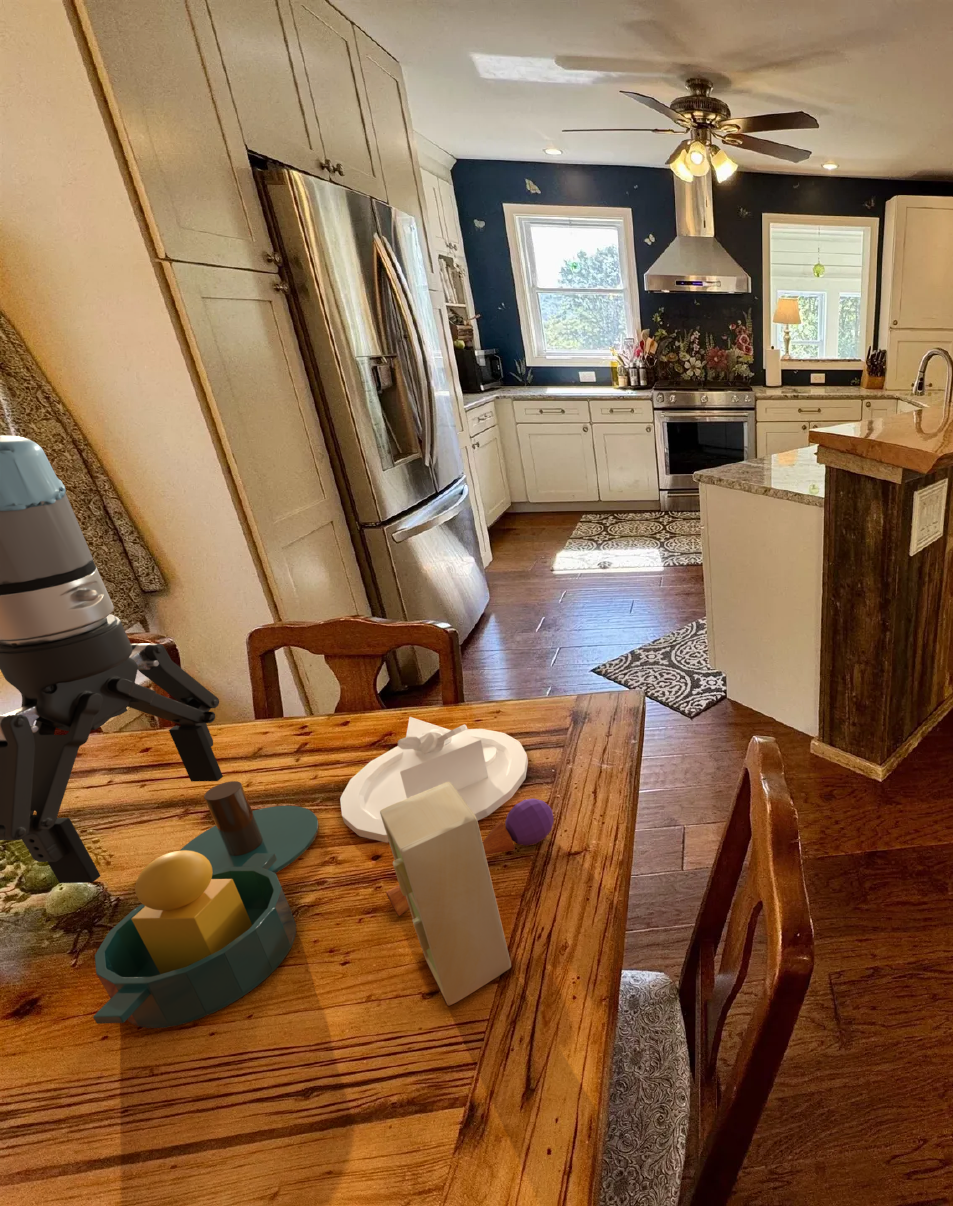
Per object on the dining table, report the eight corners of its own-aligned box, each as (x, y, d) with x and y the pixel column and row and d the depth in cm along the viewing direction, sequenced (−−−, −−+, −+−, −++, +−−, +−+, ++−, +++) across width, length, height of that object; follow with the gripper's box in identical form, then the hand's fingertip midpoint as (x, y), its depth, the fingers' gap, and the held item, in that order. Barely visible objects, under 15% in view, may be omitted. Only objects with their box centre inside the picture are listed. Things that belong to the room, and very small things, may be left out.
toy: (161, 983, 67) (106, 881, 61) (204, 937, 72) (158, 838, 66) (221, 982, 67) (172, 880, 61) (260, 936, 72) (218, 838, 66)
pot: (49, 1059, 60) (18, 1013, 58) (217, 890, 78) (199, 849, 76) (209, 1055, 61) (185, 1009, 58) (339, 888, 79) (325, 848, 76)
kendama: (376, 873, 76) (534, 784, 89) (394, 912, 78) (546, 819, 91) (390, 894, 72) (553, 798, 85) (409, 934, 74) (566, 834, 87)
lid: (132, 901, 76) (98, 835, 72) (232, 812, 90) (208, 753, 86) (266, 899, 77) (240, 834, 73) (345, 811, 91) (326, 752, 87)
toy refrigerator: (415, 962, 70) (370, 811, 62) (485, 923, 75) (451, 778, 67) (439, 1014, 65) (393, 857, 57) (512, 968, 70) (479, 818, 62)
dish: (556, 782, 98) (547, 721, 94) (370, 871, 82) (348, 801, 77) (490, 718, 114) (479, 662, 109) (322, 782, 97) (301, 719, 92)
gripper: (-80, 706, 42) (59, 934, 51) (219, 574, 65) (281, 747, 74) (-202, 707, 42) (-42, 937, 50) (142, 574, 65) (213, 747, 73)
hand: (150, 824), depth 62 cm, fingers open, 13 cm apart
